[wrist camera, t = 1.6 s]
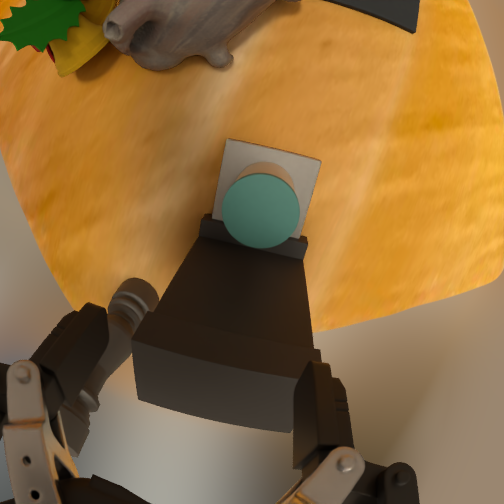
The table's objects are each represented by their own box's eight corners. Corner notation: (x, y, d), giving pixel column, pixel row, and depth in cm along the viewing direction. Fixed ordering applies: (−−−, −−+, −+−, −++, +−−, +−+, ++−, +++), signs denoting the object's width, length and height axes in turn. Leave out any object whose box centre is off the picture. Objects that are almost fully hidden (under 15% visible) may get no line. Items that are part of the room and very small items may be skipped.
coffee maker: (219, 136, 29) (130, 171, 11) (329, 162, 30) (400, 234, 12) (196, 271, 37) (137, 399, 19) (288, 292, 37) (290, 433, 19)
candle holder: (135, 316, 42) (59, 453, 19) (113, 284, 39) (17, 416, 17) (166, 308, 40) (93, 463, 18) (144, 272, 38) (44, 424, 15)
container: (241, 154, 29) (229, 166, 22) (301, 168, 29) (309, 185, 22) (229, 211, 32) (215, 239, 25) (286, 224, 32) (288, 255, 25)
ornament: (86, 0, 24) (7, -19, 11) (124, -35, 20) (41, -65, 7) (83, 104, 27) (-31, 98, 13) (127, 65, 23) (-7, 40, 9)
